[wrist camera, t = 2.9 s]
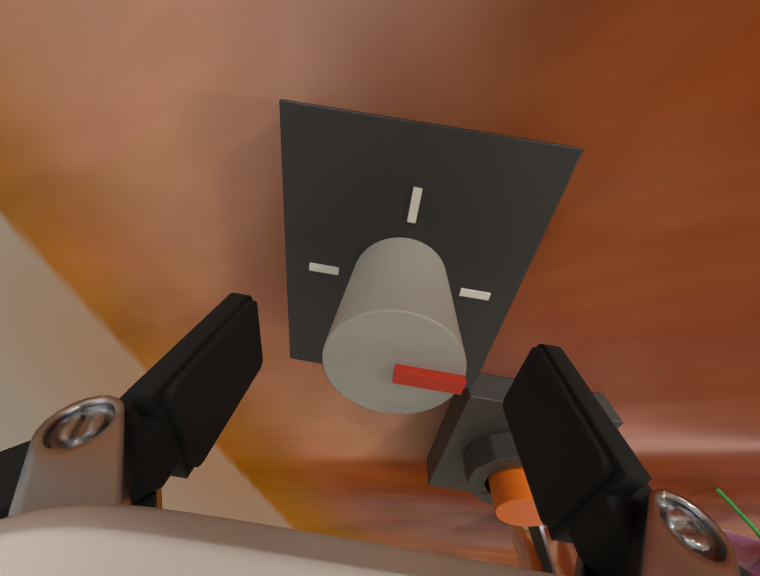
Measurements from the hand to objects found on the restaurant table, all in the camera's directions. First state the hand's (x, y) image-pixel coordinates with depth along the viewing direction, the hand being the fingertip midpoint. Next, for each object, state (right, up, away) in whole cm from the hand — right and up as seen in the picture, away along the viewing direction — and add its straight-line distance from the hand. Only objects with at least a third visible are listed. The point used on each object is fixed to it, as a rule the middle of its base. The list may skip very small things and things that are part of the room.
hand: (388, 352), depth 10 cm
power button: (+10, -11, +10) cm, 18 cm away
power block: (+10, -10, +13) cm, 19 cm away
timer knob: (+1, +2, +4) cm, 4 cm away
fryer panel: (+1, +4, +6) cm, 8 cm away
